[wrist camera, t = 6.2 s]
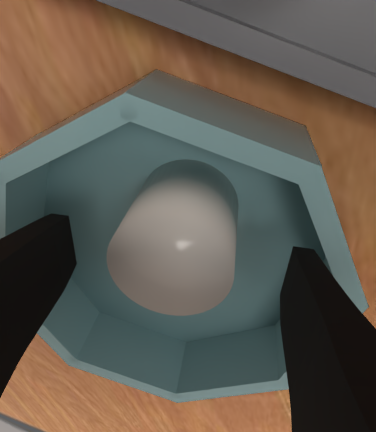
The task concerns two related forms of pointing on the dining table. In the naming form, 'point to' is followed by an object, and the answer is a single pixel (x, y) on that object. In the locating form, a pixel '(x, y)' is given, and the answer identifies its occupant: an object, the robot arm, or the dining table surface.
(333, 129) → the dining table surface
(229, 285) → the pebble
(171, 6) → the parts tray
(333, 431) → the robot arm
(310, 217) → the bowl
